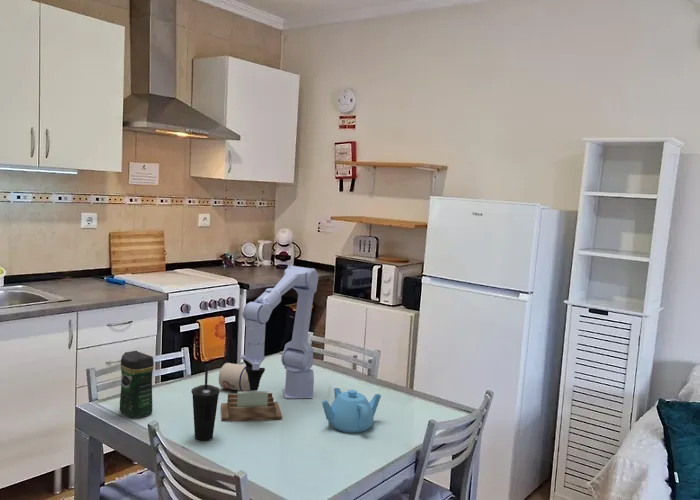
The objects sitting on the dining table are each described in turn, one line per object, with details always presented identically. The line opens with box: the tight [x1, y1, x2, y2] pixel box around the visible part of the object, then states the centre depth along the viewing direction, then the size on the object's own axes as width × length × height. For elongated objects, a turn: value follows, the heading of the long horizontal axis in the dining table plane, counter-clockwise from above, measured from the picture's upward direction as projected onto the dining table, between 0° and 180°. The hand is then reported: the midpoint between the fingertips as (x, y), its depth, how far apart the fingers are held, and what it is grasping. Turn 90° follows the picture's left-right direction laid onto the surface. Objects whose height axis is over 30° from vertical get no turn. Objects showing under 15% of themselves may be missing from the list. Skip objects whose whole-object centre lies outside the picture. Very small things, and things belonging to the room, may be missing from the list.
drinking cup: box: [190, 366, 221, 442], centre depth 165 cm, size 8×8×20 cm
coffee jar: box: [119, 350, 155, 419], centre depth 178 cm, size 10×8×19 cm
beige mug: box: [218, 362, 250, 392], centre depth 205 cm, size 12×9×12 cm
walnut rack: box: [220, 392, 283, 422], centre depth 185 cm, size 18×12×4 cm
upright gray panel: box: [236, 390, 269, 407], centre depth 181 cm, size 9×2×7 cm, turn 103°
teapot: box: [321, 387, 382, 434], centre depth 181 cm, size 15×15×11 cm
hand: (252, 385), depth 181 cm, fingers open, 7 cm apart
